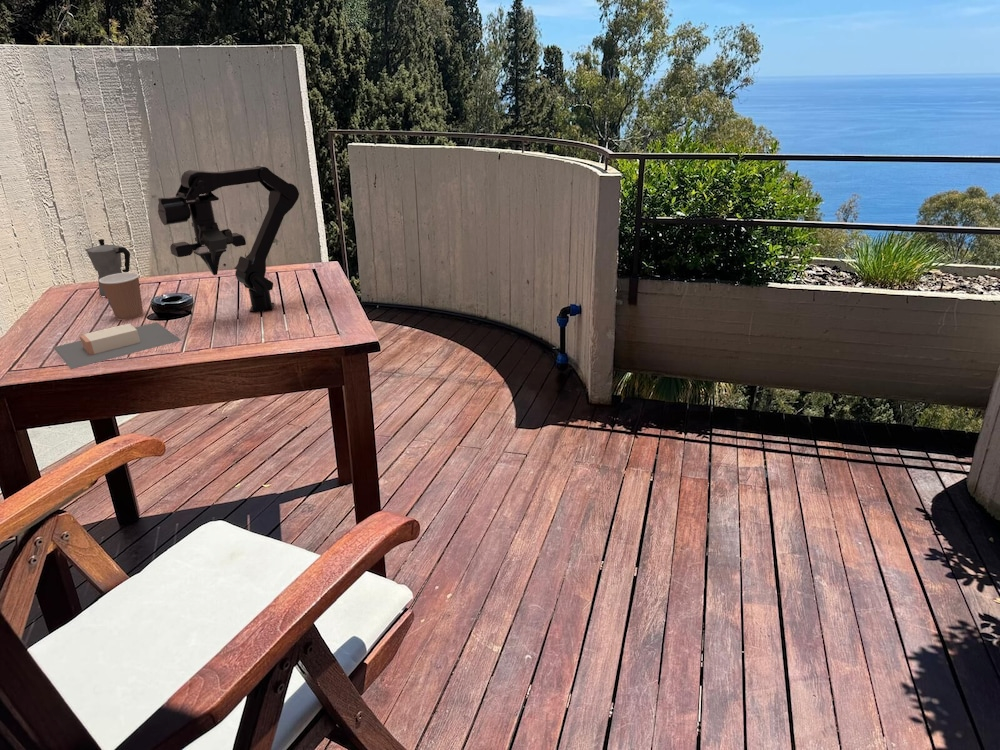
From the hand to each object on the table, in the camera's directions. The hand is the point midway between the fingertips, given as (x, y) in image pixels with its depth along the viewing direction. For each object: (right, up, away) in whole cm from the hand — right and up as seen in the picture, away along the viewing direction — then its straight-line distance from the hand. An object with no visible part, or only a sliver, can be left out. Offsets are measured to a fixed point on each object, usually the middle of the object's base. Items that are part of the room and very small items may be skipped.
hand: (215, 274), depth 188 cm
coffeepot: (-44, -2, +31) cm, 54 cm away
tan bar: (-17, -17, -10) cm, 26 cm away
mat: (-21, -20, -12) cm, 31 cm away
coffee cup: (-29, -11, +9) cm, 33 cm away
